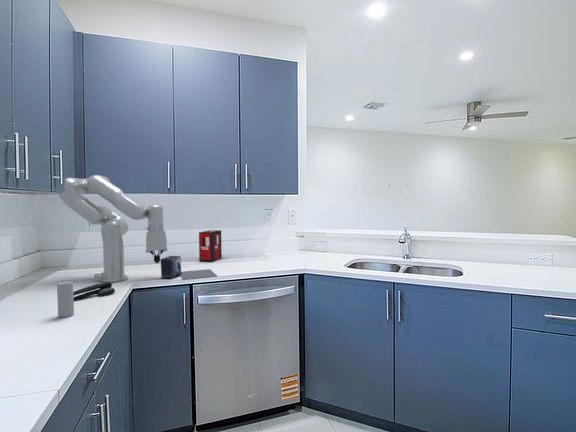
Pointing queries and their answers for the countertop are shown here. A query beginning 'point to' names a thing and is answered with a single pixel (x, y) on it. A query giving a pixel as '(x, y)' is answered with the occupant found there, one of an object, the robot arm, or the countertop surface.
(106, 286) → the can opener
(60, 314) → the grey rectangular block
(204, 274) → the mat
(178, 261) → the small box
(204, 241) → the cleaning product box
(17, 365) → the countertop surface
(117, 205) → the robot arm
